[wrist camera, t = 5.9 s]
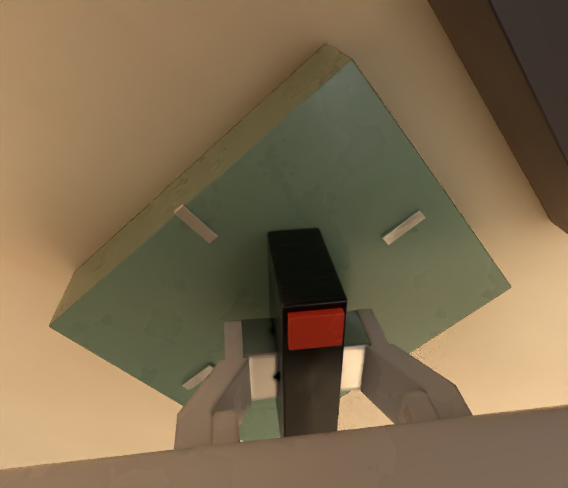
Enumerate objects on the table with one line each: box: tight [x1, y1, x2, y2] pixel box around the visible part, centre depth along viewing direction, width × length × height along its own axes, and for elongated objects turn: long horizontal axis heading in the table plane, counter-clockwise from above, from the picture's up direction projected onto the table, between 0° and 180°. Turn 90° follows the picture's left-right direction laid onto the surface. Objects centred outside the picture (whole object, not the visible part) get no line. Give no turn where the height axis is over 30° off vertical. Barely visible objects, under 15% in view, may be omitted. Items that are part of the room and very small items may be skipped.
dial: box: [267, 228, 348, 437], centre depth 13 cm, size 6×2×4 cm, turn 1°
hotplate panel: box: [49, 43, 511, 442], centre depth 16 cm, size 12×10×3 cm
